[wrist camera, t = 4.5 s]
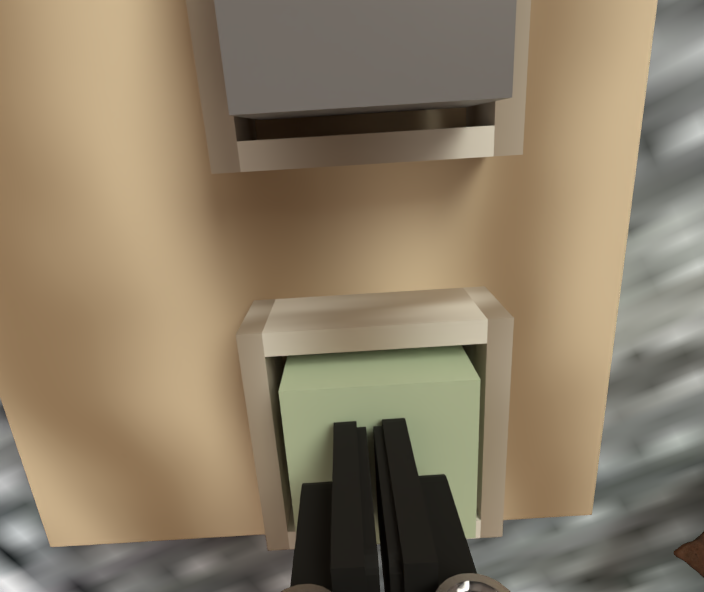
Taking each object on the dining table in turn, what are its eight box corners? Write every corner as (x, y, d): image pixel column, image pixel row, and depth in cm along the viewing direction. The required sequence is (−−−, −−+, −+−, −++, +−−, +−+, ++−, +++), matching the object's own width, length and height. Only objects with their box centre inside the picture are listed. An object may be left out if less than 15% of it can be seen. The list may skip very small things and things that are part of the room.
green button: (451, 326, 13) (480, 379, 10) (449, 459, 15) (475, 537, 12) (292, 336, 13) (278, 391, 10) (306, 468, 15) (297, 548, 12)
